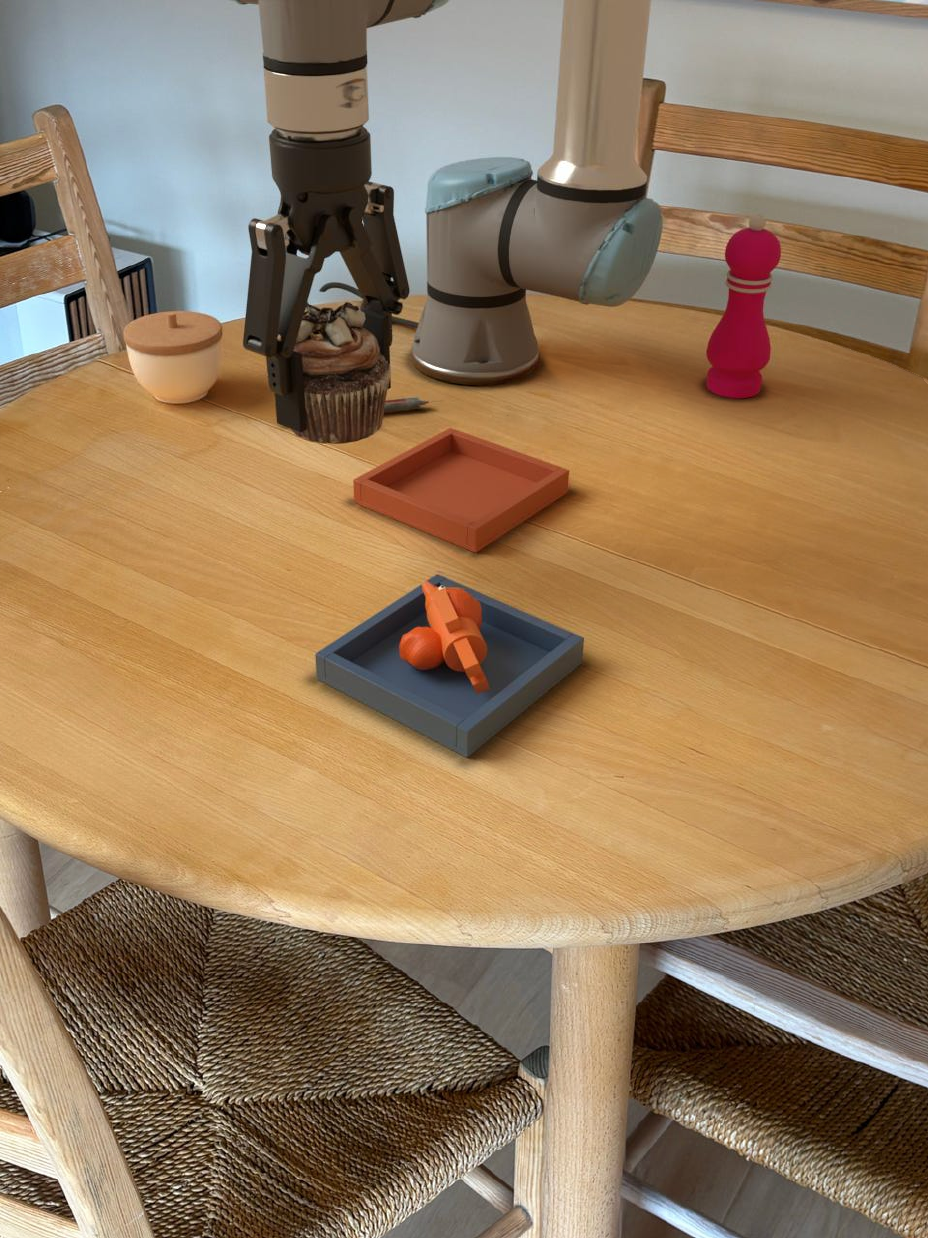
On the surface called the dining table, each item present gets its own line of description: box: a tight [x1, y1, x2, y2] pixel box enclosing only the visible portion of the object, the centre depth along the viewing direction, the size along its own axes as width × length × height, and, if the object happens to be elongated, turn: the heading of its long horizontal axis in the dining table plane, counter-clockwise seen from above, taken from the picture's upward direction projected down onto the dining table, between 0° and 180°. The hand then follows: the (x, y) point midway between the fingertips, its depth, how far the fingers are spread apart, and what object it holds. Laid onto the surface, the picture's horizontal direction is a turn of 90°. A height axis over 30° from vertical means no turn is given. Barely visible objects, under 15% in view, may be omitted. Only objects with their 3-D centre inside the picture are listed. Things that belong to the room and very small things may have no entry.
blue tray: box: [314, 573, 585, 759], centre depth 98 cm, size 15×15×2 cm
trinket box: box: [122, 310, 224, 405], centre depth 139 cm, size 11×11×9 cm
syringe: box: [384, 396, 444, 414], centre depth 137 cm, size 8×18×2 cm, turn 105°
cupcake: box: [279, 301, 392, 445], centre depth 103 cm, size 10×10×10 cm
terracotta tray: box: [352, 427, 570, 554], centre depth 122 cm, size 15×15×2 cm
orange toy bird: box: [399, 580, 490, 694], centre depth 97 cm, size 5×8×12 cm
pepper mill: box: [705, 214, 782, 399], centre depth 139 cm, size 7×7×20 cm
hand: (335, 404), depth 105 cm, fingers closed on cupcake, 10 cm apart
